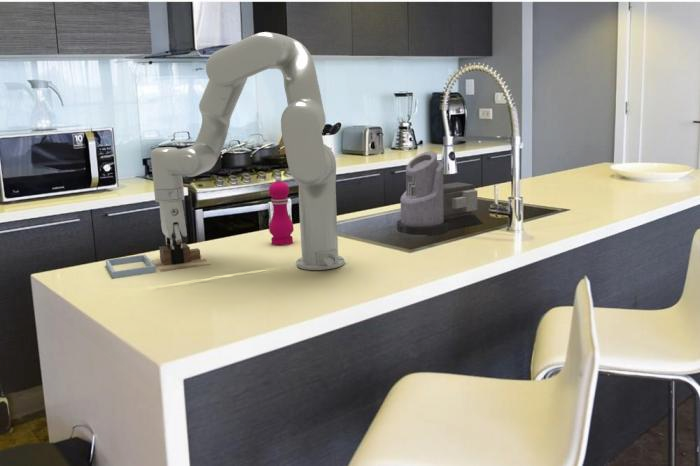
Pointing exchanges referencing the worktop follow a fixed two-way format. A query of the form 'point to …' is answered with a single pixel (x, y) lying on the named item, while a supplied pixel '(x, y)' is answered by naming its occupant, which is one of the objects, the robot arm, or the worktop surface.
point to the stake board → (180, 266)
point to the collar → (188, 253)
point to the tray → (130, 271)
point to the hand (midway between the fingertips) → (175, 260)
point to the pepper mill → (280, 214)
